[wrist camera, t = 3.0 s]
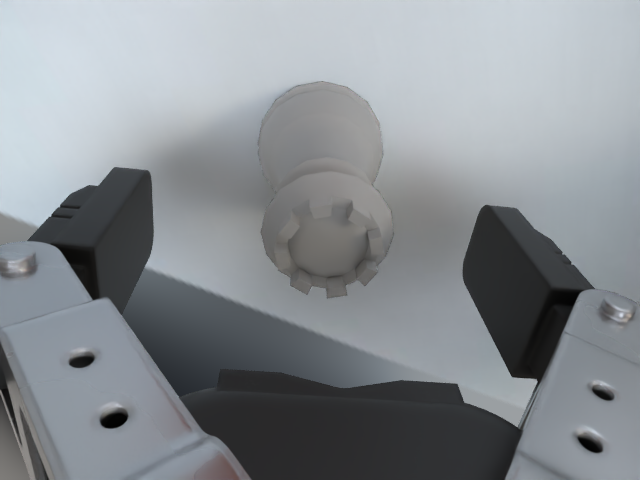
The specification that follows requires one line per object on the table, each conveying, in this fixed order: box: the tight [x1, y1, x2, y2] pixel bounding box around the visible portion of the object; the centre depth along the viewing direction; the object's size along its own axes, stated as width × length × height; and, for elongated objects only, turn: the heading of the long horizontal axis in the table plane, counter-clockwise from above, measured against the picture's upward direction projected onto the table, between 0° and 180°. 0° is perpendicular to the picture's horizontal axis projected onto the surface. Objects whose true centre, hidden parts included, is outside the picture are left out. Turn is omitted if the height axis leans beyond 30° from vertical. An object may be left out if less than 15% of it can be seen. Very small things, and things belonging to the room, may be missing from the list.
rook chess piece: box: [258, 81, 394, 298], centre depth 15 cm, size 4×4×8 cm
